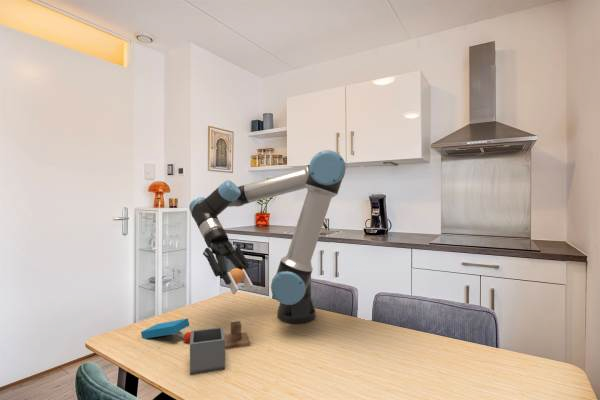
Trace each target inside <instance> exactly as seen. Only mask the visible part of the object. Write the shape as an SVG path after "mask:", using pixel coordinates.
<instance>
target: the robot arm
mask: <svg viewBox="0 0 600 400" xmlns="http://www.w3.org/2000/svg"><path fill="white" fill-rule="evenodd" d="M345 174H346V161H345V160H344V158H343V157H342V155H340V154H339V153H338V152H336V151H333V150H329V149H328V150H321V151H319V152H317V153H316V154H314V156H312V158H311V160H310V162H309V164H307V165H306V166H305V168H302V169H297V170H295V171H291V172H287V173H284V174H280V175H276V176H273V177H268V178H264V179H261V180H258V181H254V182H250V183H248V184H244V185H243V184H242V185H240V186H237V185H236V184H235V183H234V182H233V181H232V180H228V179H227V180H225V181H224V182H222V183H221V184H220V185H219V186H218V187H217V188H216V189H215V190H213V191H212V192H211V193H210V194H209V195H208V196H207V197H203V196H201V197H200V196H199V197H197V198H196V199H192V201H190V203H189V207H188V208H189V211H190V215H191V217H192V218H193V220H194V222H195V223H196V226H197V228H198V230H199V232H200V234H201V235H202V238H203V240H204V242H205V243H206V247H205V249H204V251H203V253H202V255H203V256H204V257H205V258H206V259H207V262H208V265H209V266H210V269H211V270H212V272H213V274H214V276H215V277H219V278H220V280H221V279H222V280H223V281H224V283H225V285H226V286H228V288H229V289H230V291H231V293H232V294H231V295H235V294H236V293H237V292H238V291H239V287H238V284H236V283H235V281H234V279H233V277H232V275H231V273H230V271H228V270H227V265H226V262H225V257H226V259H227V260H229V261H230V263H232V264H233V266H235V268H238V269H241V270H242V272H243V274H244V278H243V280H242V281H241V282H242V283H243V284H244V287H245V289H246V290H247V291H250V290H251V289H252V287H253V285H254V284H253V282H252V281H251V279H250V274H249V272H248V271H247V270H248V268H249V266H250V264H249V262H248V259H247V258H246V257H245V255H244V252H242V249H241V246H240V243H236V244H232V242H230V241H229V236H228V235H227V233H226V231H225V229H224V227H223V225H222V223H221V221H220V220H219V217H218V216H219V215H221V214H222V212H224V211H225V210H227V208H228V207H229V208H231V207H242V206H244V205H247V204H249V203H250V204H251V203H253V202H258V201H261V200H266V199H269V198H275V197H277V196H280V195H281V196H282V195H285V194H289V193H293V192H297V191H300V190H304V189H306V190H307V191H306V196H305V198H304V201H303V204H302V207H301V209H300V210H301V211H300V214H299V216H298V220H297V223H296V226H295V229H294V232H293V236H292V238H291V241H290V245H289V247H288V251H287V253H286V255H285V256H283V257H281V259H280V262H279V265H278V268H277V270H276V272H275V273H276V274H275V275H274V276H273V278H271V279H272V280H271V284H270V289H271V294H272V296H273V297H274V299H275V300H276V301H278V302H279V305H278V308H277V311H276V313H277V316H276V317H277V319H278V320H279V321H280V322H283V323H287V324H295V325H296V324H305V323H306V324H307V323H309V322H312V321H314V320H315V319H316V318H317V317H316V316H317V315H316V314H317V313H316V308H315V305H314V302H313V298H312V273H313V267H312V258H313V256H314V252H315V249H316V246H317V244H318V240H319V238H320V234H321V231H322V228H323V226H324V222H325V219H326V217H327V213H328V209H329V207H330V204H331V200H332V198H334V197H336V196H338V194H339V190H340V188H341V184H342V182H343V179H344V177H345ZM227 271H228V272H227Z"/></svg>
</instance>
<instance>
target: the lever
mask: <svg viewBox="0 0 600 400" xmlns="http://www.w3.org/2000/svg"><path fill="white" fill-rule="evenodd" d="M189 326H190V322H189V318H188V317H187V318H183V319H178V320H172V321H166V322H161V323H156V324H154V325H152V326H150V327H148V328H145V329H144V330H142V331H140V333H141V338H142V339H150V338H152V339H153V338H157V337H164V336H168V335H169V336H170V335H176V336H179V337H180V338H181V337H182V338H183V341H184V343H186V344H190V338H191V331H187V332H186V333H185V332H182V331H183V330H184V329H185V328H187V327H189Z"/></svg>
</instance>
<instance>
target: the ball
mask: <svg viewBox="0 0 600 400" xmlns="http://www.w3.org/2000/svg"><path fill="white" fill-rule="evenodd" d="M229 272H230V273H231V275H232V277H233V279H234V281H235V283H236V285H238V284H241V282H243V281H242V280H243V278H244V274H243V272H242V270H241V269H238V268H236V267H235V268H231V270H229Z"/></svg>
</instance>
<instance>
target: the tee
mask: <svg viewBox="0 0 600 400" xmlns="http://www.w3.org/2000/svg"><path fill="white" fill-rule="evenodd" d="M224 337H225V350H229V349H235V348H236V349H237V348H245V347H249V346H251V342H250V338H249V335H248V331H246V332H245V331H244V332H242V323H241V320H240V321H239V320H238V321H231V322H230V333H228V334H224Z"/></svg>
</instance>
